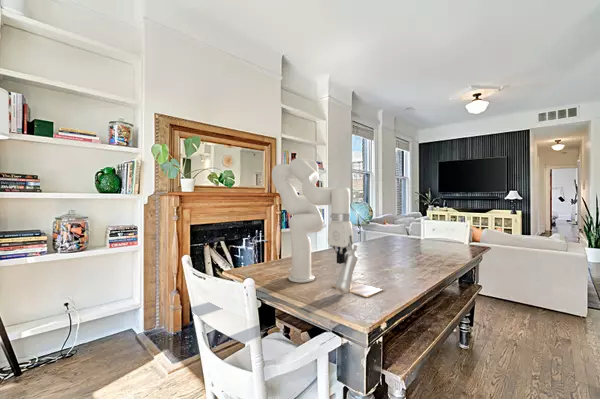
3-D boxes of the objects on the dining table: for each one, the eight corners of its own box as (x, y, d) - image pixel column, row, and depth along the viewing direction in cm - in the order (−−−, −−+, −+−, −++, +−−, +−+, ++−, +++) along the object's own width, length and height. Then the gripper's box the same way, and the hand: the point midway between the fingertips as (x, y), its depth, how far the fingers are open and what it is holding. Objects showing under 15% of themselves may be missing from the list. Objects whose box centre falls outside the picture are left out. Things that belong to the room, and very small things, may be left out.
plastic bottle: (346, 293, 110) (358, 244, 116) (330, 289, 114) (343, 241, 119) (351, 295, 116) (362, 248, 121) (336, 290, 119) (348, 245, 124)
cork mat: (332, 286, 125) (332, 285, 125) (349, 281, 133) (349, 280, 133) (366, 297, 111) (366, 296, 111) (383, 290, 119) (383, 289, 119)
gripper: (320, 217, 117) (320, 261, 118) (349, 219, 106) (349, 268, 106) (332, 216, 122) (333, 258, 123) (361, 218, 111) (361, 264, 111)
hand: (340, 262), depth 115 cm, fingers closed
